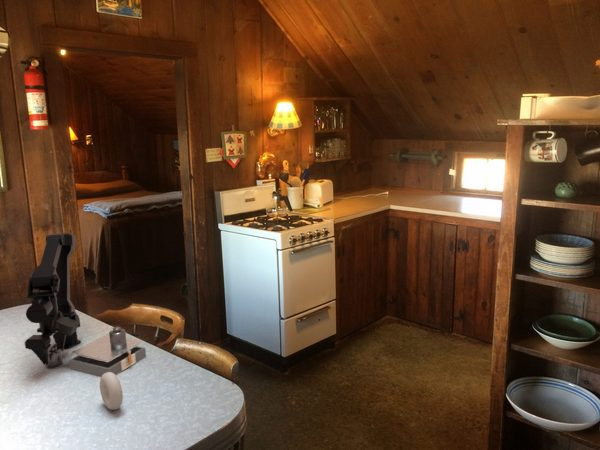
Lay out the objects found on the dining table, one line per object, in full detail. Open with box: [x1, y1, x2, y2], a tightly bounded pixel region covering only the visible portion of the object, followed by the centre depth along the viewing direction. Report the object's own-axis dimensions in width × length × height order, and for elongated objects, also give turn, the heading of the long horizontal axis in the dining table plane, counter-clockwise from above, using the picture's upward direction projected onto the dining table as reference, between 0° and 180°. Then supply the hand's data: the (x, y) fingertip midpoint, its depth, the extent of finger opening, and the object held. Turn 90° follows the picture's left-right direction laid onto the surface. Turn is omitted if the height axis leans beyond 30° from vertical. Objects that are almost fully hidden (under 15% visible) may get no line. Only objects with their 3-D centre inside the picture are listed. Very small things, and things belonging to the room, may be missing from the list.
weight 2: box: [108, 326, 127, 350], centre depth 164 cm, size 5×5×6 cm
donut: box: [99, 372, 124, 411], centre depth 139 cm, size 10×4×10 cm, turn 41°
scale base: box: [69, 345, 147, 378], centre depth 166 cm, size 16×16×3 cm
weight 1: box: [45, 344, 64, 370], centre depth 165 cm, size 5×5×6 cm
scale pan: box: [70, 333, 143, 364], centre depth 165 cm, size 17×15×4 cm
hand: (53, 357), depth 165 cm, fingers open, 9 cm apart
